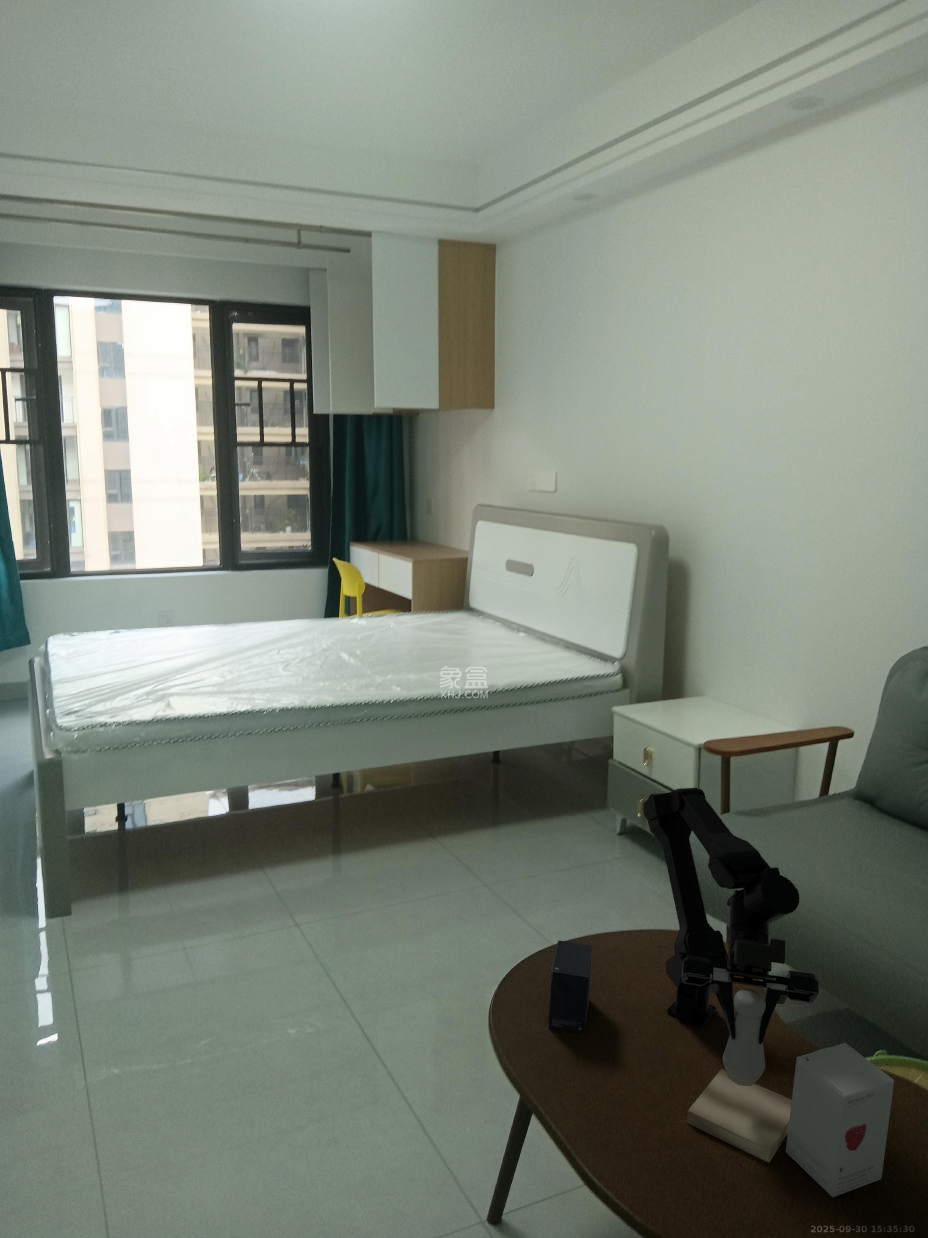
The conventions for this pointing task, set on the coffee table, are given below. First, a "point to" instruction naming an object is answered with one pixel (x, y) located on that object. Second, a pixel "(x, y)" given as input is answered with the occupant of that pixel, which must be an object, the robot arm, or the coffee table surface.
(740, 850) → the robot arm
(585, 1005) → the small box
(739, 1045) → the salt shaker
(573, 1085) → the coffee table surface
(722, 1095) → the oak block
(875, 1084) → the supplement box
